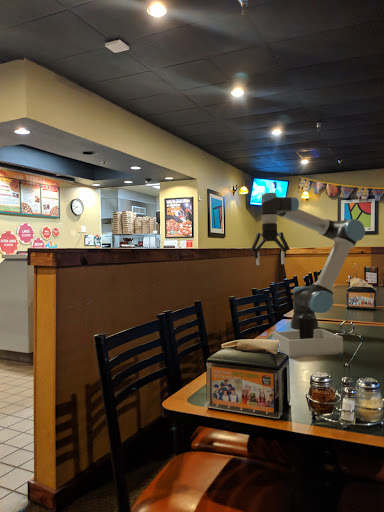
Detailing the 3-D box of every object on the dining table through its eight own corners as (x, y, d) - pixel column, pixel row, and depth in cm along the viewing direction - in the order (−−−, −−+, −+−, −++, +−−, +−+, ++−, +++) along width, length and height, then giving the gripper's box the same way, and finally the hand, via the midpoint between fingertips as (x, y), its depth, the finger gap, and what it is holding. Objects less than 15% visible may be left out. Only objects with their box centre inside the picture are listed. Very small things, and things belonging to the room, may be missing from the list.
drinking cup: (316, 350, 170) (315, 303, 170) (298, 350, 172) (297, 303, 171) (315, 346, 177) (313, 301, 177) (297, 345, 179) (296, 301, 179)
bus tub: (322, 343, 185) (321, 328, 185) (343, 353, 168) (342, 336, 168) (272, 347, 181) (272, 332, 181) (289, 357, 164) (288, 340, 164)
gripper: (248, 223, 200) (249, 265, 200) (295, 222, 204) (296, 263, 204) (243, 224, 207) (245, 265, 207) (289, 223, 212) (290, 263, 212)
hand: (270, 264), depth 206 cm, fingers open, 13 cm apart
